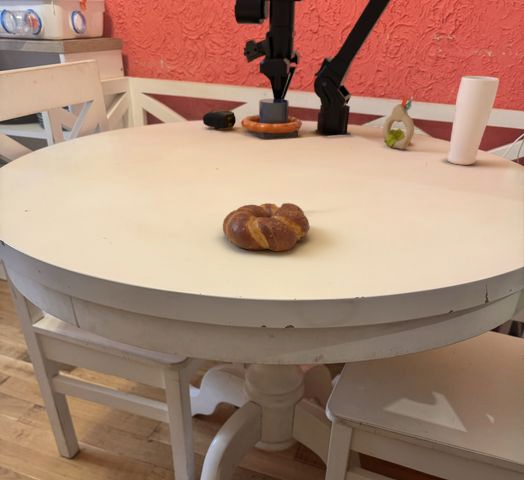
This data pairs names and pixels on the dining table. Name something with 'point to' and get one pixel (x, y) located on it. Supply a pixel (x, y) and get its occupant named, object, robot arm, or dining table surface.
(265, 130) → the ring
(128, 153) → the dining table surface
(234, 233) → the pretzel
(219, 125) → the tape measure
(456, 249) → the dining table surface
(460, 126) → the drinking glass
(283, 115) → the cup stand
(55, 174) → the dining table surface
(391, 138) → the beige hollow ornament
